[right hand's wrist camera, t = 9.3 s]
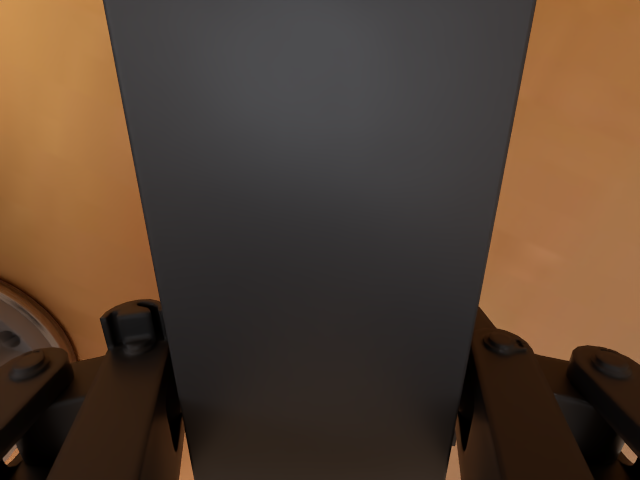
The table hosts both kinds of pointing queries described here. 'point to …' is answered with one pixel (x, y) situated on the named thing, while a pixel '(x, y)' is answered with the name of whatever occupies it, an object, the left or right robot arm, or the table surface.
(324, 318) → the bar
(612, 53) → the table surface
